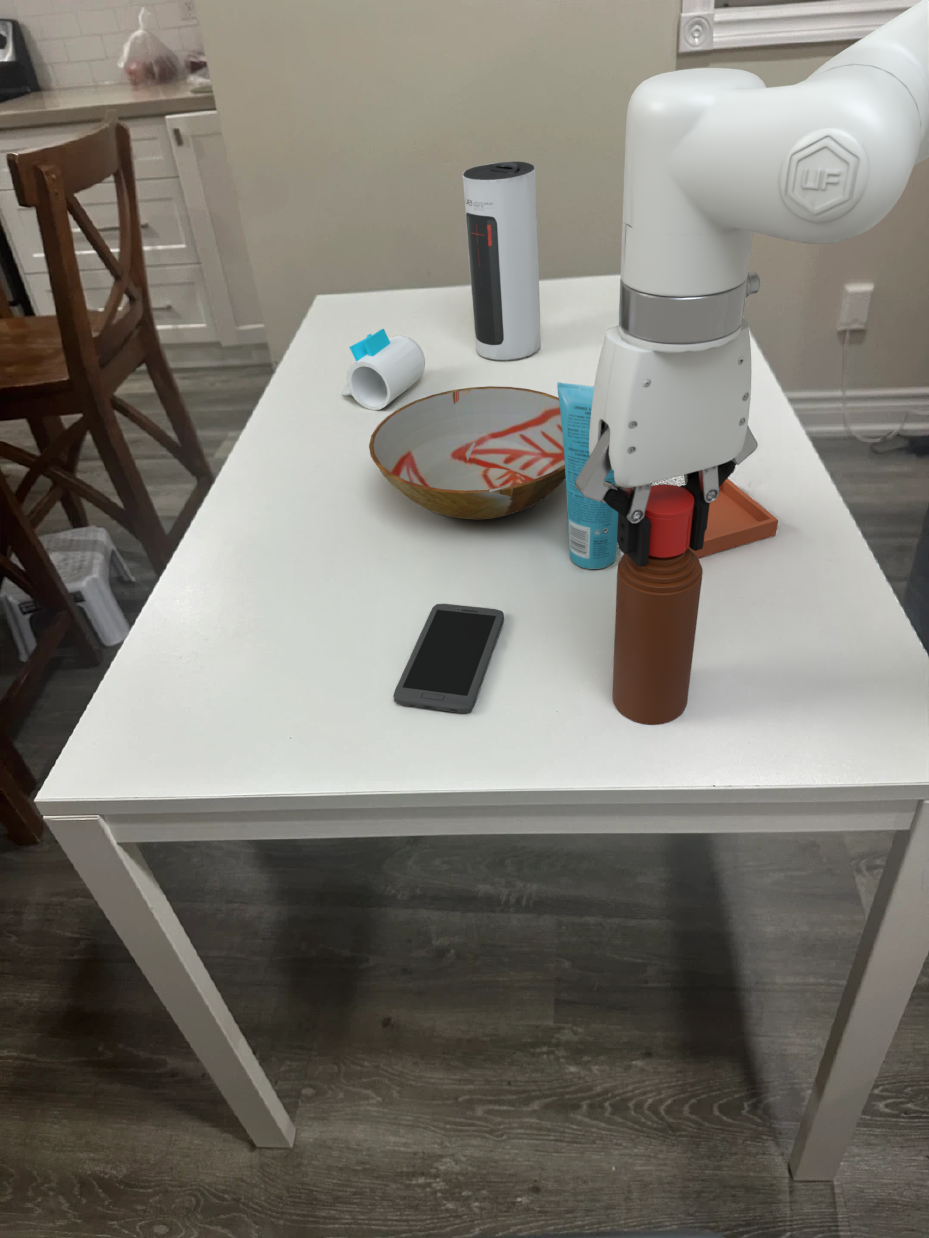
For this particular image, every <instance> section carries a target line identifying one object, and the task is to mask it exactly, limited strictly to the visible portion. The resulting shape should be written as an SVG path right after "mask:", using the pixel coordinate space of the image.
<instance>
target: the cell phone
mask: <svg viewBox="0 0 929 1238" xmlns="http://www.w3.org/2000/svg"><path fill="white" fill-rule="evenodd" d="M504 620H505V613H504V611H503V610H501V609H498V608H489V607H480V606H473V605H472V606H470V605H461V604H453V603H452V604H451V603H436V604H435V605H434V606H432V607H431V610H430V612H429V614H428V615H427V618H426V621H425V623H424V625H423V627H422V630H421V632H420V633H419V635H418V638H417V640H416V642H415V645H414V647H413V649H412V651H411V654H410V656H409V659H408V661H407V663H406V664H405V667H404V670H403V672H402V674H401V676H400V679H399V680H398V683H397V685H396V687H395V689H394V693H393V701H394V703H396V704H397V705H401V706H405V707H407V706H408V707H413V708H421V709H429V710H434V711H435V710H436V711H443V712H451V713H456V714H457V713H458V714H469V713H471V712H472V710H473V709H474V708H475V704H476V702H477V698H478V696H479V693H480V690H481V687H482V684H483V682H484V679H485V675H486V673H487V670H488V667H489V665H490V662H491V658H492V656H493V653H494V650H495V647H496V644H497V641H498V638H499V635H500V633H501V630H502V627H503V625H504Z"/></svg>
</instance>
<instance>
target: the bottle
mask: <svg viewBox="0 0 929 1238" xmlns="http://www.w3.org/2000/svg"><path fill="white" fill-rule="evenodd" d="M616 568H617V569H616V570H617V571H616V594H615V618H614V619H615V620H614V642H613V643H614V644H613V663H612V664H613V665H612V666H613V667H612V692H611V693H612V695H611V696H612V697H611V698H612V699H611V700H612V703H613V705H614V707H615V709H616V710H617V711H618V712H619V713H620V714H621V715H622V716H623V717H625V718H626V719H628V720H630V721H632V722H634V723H638V724H643V725H650V726H652V725H653V726H654V725H663V724H667V723H670V722H672V721H674V720H676V719H678V718H679V717H680V716H681V715H682V714H684V712H685V710H686V709H687V705H688V699H689V691H690V690H689V689H690V682H691V674H692V665H693V658H694V649H695V640H696V632H697V625H698V616H699V606H700V598H701V590H702V583H703V574H704V573H703V572H704V571H703V567H702V564H701V562H700V558H698V557H697V556H696V555H695V554H694V553H693V552H692V551H691V550H690V549H689V548H688V549H687V550H686V551H685V552H683V553H682V554H680V555H677V556H673V557H666V558H661V557H653V556H650V555H649V560H648V563H647V564H646V565H645V566H642V567H638V566H637V565H636V564H635V563H634V562H633V561H632V559H631V558H630V557H629V556H628V555H627V554H624V553H623V555H622V556H621V558H620V559H619V561H618V564H617V567H616Z"/></svg>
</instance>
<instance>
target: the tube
mask: <svg viewBox="0 0 929 1238" xmlns="http://www.w3.org/2000/svg"><path fill="white" fill-rule="evenodd" d="M556 389H557V397H558V398H559V404H560V412H561V423H562V433H563V446H564V460H565V475H566V479H565V490H566V508H567V527H568V547H569V558H570V561H571V562H572V563H573V564H574V565H576V566H578V567H579V568H583V569H587V570H601V569H605V568H607V567H609V566H610V565H612V564H613V563H615V561H616V559H617V552H618V543H617V531H618V512H617V511H616V510H614V509H613V508H611V507H610V506H609V505H608V504H606V503H603V502H598V501H595V500H593V499H590V498H587V497H584V496H583V495H582V494H581V493H580V492H579V491H578V490H577V488H576V487H575V481H576V479H577V477H578V476H579V474H580V472H581V470H582V469H583V467H584V465H585V463H586V462H587V460H588V458H589V457H590V454H589V433H590V420H591V409H592V400H593V392H594V385H593V386H592V385H583V384H576V383H567V382H560V381H559V382H557V386H556ZM604 481H609V482H611V483H612V484H614V485H615V479H614V470H612V468H611V470H610V471H609V473H608V475H607V476H606V478H605V480H604Z"/></svg>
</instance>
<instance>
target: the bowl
mask: <svg viewBox="0 0 929 1238" xmlns="http://www.w3.org/2000/svg"><path fill="white" fill-rule="evenodd" d="M368 450H369V454H370V458H371V459H372V461H373V462H374V464H375V465H376V468H378V470H379V471H380V472H381V473H382V475H383V477H384V478H386V480H387V481H388V482H389V483H390V484H391V486H393V487H394V488H395V489H397V490H398V491H399V492H400V493H401V494H403V496H405V497H406V498H407V499H408V500H410V501H412V502H413V503H415V504H417V505H419V506H420V507H422V508H425V509H426V510H428V511H430V512H433V513H435V514H438V515H442V516H445V517H446V516H447V517H450V518H451V517H452V518H456V519H464V520H477V521H479V520H491V519H497V518H502V517H506V516H509V515H512V514H516V513H518V512H522V511H523V510H526V509H528V508H530V507H533V506H535V505H536V504H537V503H540V502H541V501H543V500H544V499H546V498H547V497H548V496H549V495H551V494H552V493H553V492H554V491H555V490H556V489H557V488H558V487H560V485H562V484H563V483H564V481H566V475H565V460H564V446H563V433H562V423H561V412H560V404H559V397H558V396H555V395H553V394H550V393H547V392H543V391H539V390H534V389H530V388H522V387H514V386H491V385H490V386H489V385H488V386H473V387H465V388H459V389H451V390H446V391H443V392H439V393H434V394H431V395H427V396H425V397H422V398H419V399H416V400H413V401H411V402H410V403H407V404H405V405H403V406H400V407H399V408H398V409H396V410H394V411H393V412H391V413H390V414H388V415H386V417H385V418H384V419H383V420H382V421H381V422H380V423H379V424H377V426H376V428H375V429H374V431H373V432H372V433H371V436H370V439H369V444H368Z"/></svg>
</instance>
